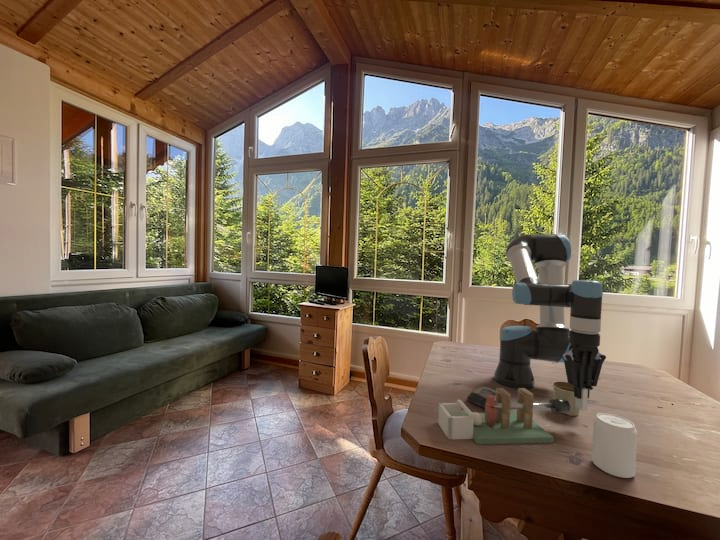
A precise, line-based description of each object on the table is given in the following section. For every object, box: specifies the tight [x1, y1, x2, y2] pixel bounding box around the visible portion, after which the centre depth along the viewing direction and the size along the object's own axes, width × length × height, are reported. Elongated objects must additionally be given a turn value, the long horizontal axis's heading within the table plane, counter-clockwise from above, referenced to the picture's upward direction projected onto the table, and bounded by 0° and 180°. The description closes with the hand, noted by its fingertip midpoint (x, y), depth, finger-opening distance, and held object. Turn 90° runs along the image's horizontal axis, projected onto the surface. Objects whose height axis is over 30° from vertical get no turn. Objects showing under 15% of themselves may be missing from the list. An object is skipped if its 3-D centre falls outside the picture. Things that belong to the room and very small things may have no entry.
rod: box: [484, 395, 570, 426], centre depth 91 cm, size 25×4×8 cm, turn 95°
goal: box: [437, 399, 474, 440], centre depth 89 cm, size 7×9×7 cm
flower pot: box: [551, 380, 581, 417], centre depth 103 cm, size 9×9×9 cm
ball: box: [472, 411, 483, 426], centre depth 90 cm, size 4×4×4 cm
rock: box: [466, 385, 512, 411], centre depth 107 cm, size 14×11×5 cm
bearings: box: [495, 387, 534, 429], centre depth 91 cm, size 9×4×10 cm, turn 95°
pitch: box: [461, 411, 554, 445], centre depth 91 cm, size 22×14×2 cm, turn 95°
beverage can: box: [591, 412, 638, 479], centre depth 74 cm, size 8×8×12 cm
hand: (581, 408), depth 93 cm, fingers closed
